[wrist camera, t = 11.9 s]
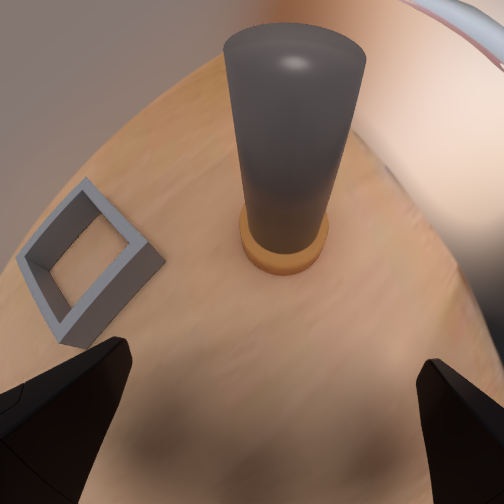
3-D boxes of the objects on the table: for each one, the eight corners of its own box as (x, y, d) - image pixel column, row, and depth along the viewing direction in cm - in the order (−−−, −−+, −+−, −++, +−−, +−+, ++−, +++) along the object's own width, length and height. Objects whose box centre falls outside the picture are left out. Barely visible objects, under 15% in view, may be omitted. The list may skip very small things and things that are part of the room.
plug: (265, 289, 16) (257, 114, 5) (229, 222, 18) (183, 39, 7) (337, 252, 17) (418, 77, 6) (296, 191, 19) (313, 13, 8)
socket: (86, 349, 15) (58, 343, 13) (39, 272, 18) (15, 257, 15) (165, 261, 17) (148, 241, 15) (104, 198, 20) (86, 176, 17)
